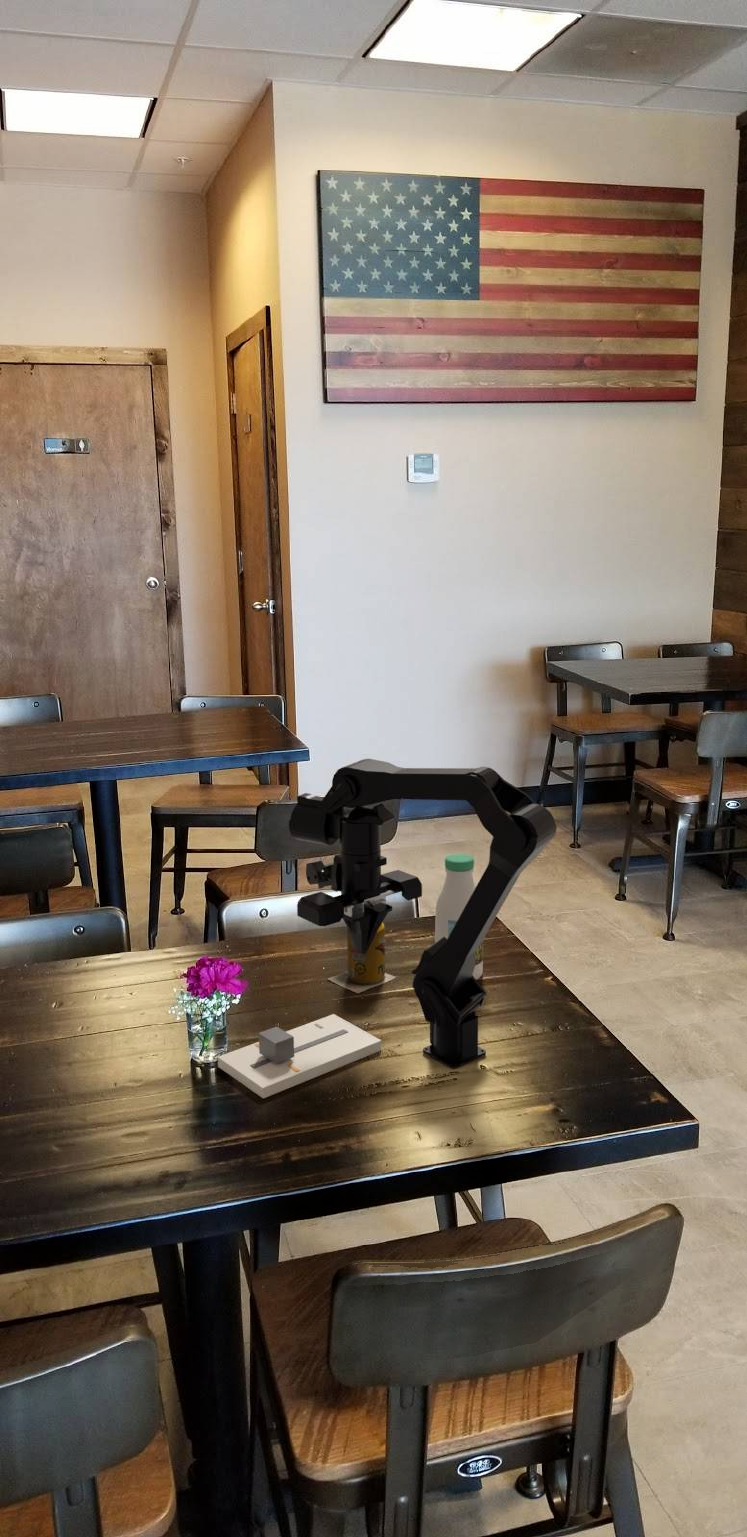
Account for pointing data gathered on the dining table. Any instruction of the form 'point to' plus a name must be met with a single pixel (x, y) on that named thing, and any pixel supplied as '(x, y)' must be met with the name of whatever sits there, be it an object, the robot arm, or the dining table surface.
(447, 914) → the milk bottle
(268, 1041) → the fader
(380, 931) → the condiment
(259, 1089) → the console
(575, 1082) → the dining table surface
